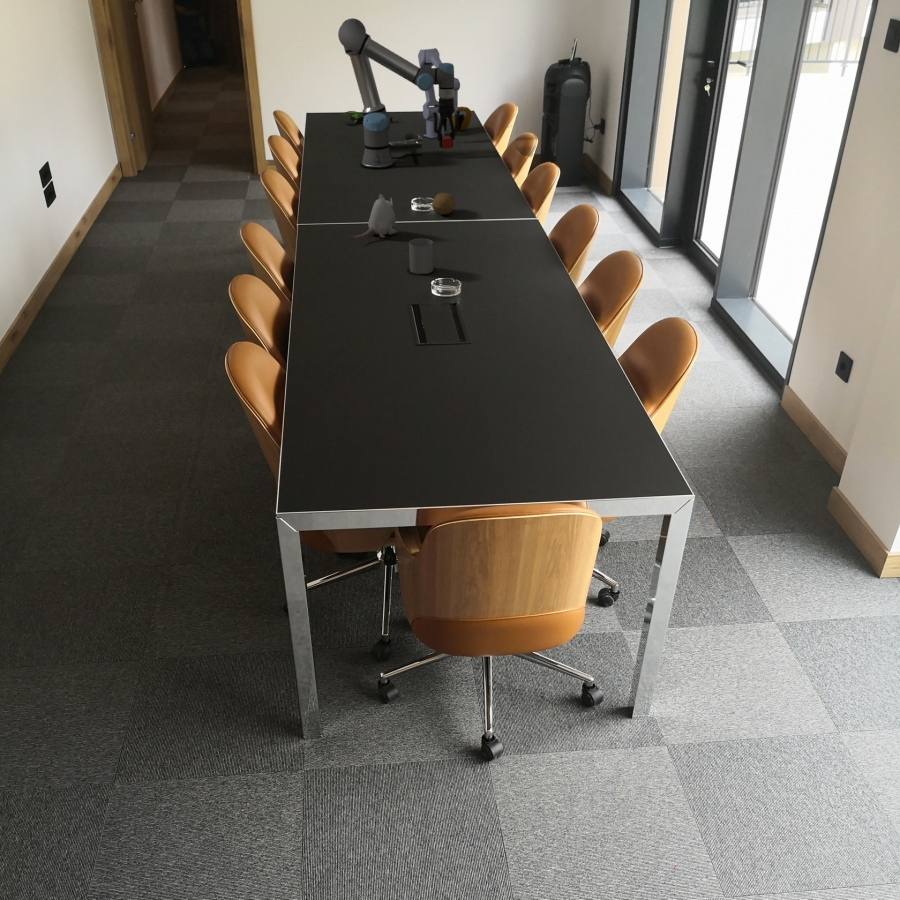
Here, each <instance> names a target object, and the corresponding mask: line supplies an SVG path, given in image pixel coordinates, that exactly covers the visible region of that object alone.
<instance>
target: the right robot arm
mask: <svg viewBox="0 0 900 900" xmlns="http://www.w3.org/2000/svg"><path fill="white" fill-rule="evenodd" d="M440 55H441V53H440V51H439V50H438V49H437V47H435V48H426V49H420V50H419V51H418V54H417V59H418V64H419V68H421V67H422V68H433V67H434V68H438V66H439V64H440V63H443V62H442V59H441V58H440V57H441V56H440ZM460 88H461V82H460V80H459V78H456V77H454V97H453V98H454V109H455V110H458V107H459V105H458V104H459V103H458V102H459V101H458V100H459V90H460ZM424 95H425V102H424V103H423V105H422V117H423V118H424V120H425V123H426V124H425V126H426V127H425V130H426V134H425V133H424V134H423V135H422V136H423V137H426V138H428V139H436V138H438V134H437V133H435V132H434V115H433V111H434V112H435V111H437V110H438V108H439V100H437V98H436V97H437V96H436V90H435V85H433V86H432V87H431V89H429V90H428V91H424ZM440 116H441V115H440V114H439V113H438V116H437V130H438V126H439V122H440ZM452 116H455V114H454V113H453V114H452ZM464 116H466V112H465V111H460V113H459V131H458V132H461V131H460V129H461V125H462V122H463V120H464ZM447 123H448V118H445V119H444V122H443V126H442V131H441V134H442V136H446V135H445V132H447V129H448V128H447V125H448V124H447Z"/></svg>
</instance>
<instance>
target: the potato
mask: <svg viewBox="0 0 900 900" xmlns="http://www.w3.org/2000/svg"><path fill="white" fill-rule="evenodd" d="M455 206H456V200H455V198H454V196H452V195H451V194H449V193H448V192H439V193H437V194H436V195H435V197H434V198H433V200H432V201H431V207H432V209H433V210H434V212H436V213H437V214H439V215H441V216H442V215H449V214H450V213H452V212H453V211H454V209H455Z"/></svg>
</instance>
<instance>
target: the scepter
mask: <svg viewBox="0 0 900 900" xmlns="http://www.w3.org/2000/svg"><path fill="white" fill-rule="evenodd" d="M346 114H350V115H349V117H350V118H349V120H350V121H352V122H349V121H348V122H347V121H345V120H341V122H342V123H344V124H346V125H349V126H355V125H357V124H359V123H361V122H362V123H363V121H364V116H363V114H361V113H359V112H357V111H356V110H348V111H345V112H343V113H342V115H346ZM388 116H389V118H390V123H392V122H393V119H394V117H393V116H390V115H388Z"/></svg>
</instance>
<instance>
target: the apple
mask: <svg viewBox="0 0 900 900" xmlns="http://www.w3.org/2000/svg"><path fill="white" fill-rule="evenodd" d="M458 111H465V112H466V116H464V120H463V122H462V125H461V129H460V131H459V130H458V132H463V131H466V130H467V129H468V128H469V126H470V124H471V121H472V111H471V108H469V107H467V106H462V105H461V106H458ZM452 120H453V125H454V129H455V116H452Z"/></svg>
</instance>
